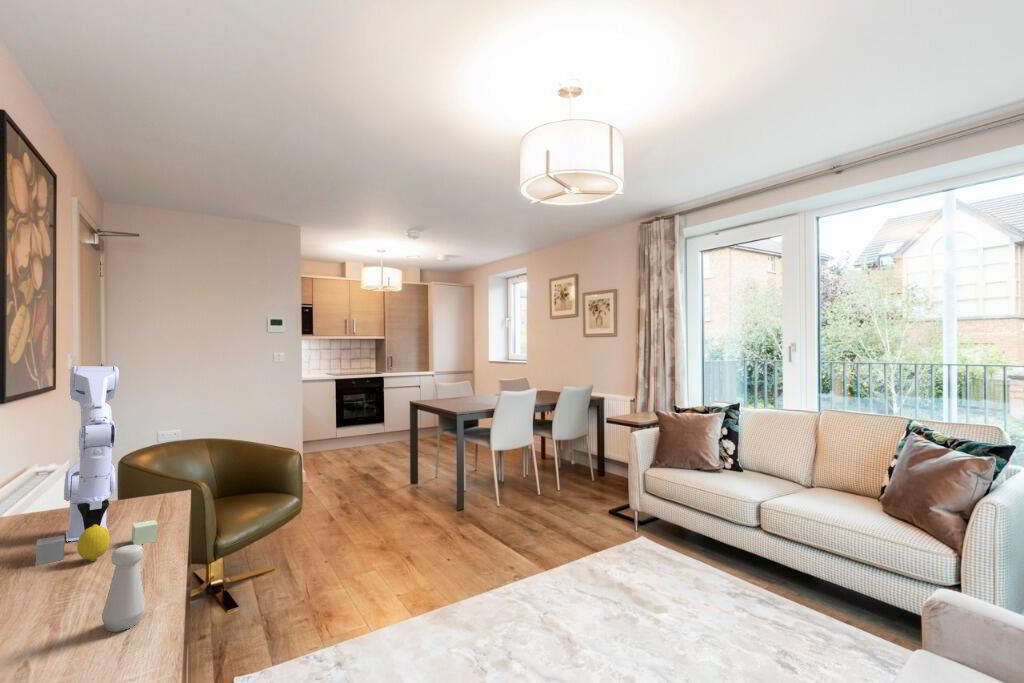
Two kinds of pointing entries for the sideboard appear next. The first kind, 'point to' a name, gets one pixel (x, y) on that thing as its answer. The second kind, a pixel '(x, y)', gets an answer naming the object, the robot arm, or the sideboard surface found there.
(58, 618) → the sideboard surface
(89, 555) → the lemon
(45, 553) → the slate block
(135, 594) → the salt shaker
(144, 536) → the sage block
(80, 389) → the robot arm
